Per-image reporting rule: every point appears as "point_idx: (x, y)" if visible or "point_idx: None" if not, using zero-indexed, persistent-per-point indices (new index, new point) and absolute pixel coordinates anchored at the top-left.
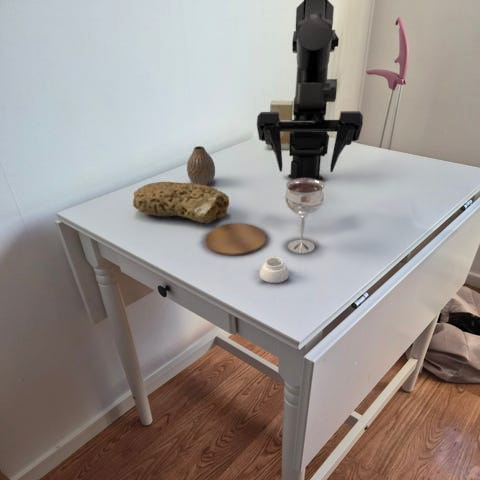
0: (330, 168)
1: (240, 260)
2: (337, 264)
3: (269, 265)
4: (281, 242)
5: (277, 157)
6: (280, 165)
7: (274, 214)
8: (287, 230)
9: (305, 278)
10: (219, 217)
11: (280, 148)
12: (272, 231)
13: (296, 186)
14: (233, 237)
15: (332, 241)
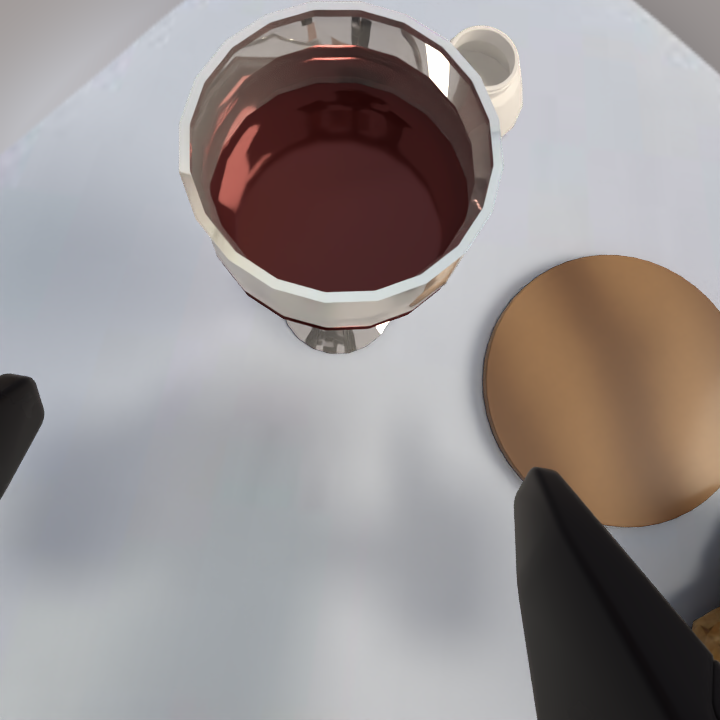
0: (22, 436)
1: (587, 222)
2: None
3: (503, 37)
4: (417, 343)
5: (634, 564)
6: (558, 491)
7: (429, 637)
8: (380, 451)
9: None
10: (712, 611)
11: (659, 676)
12: (450, 449)
13: (385, 309)
14: (630, 387)
15: (194, 327)
